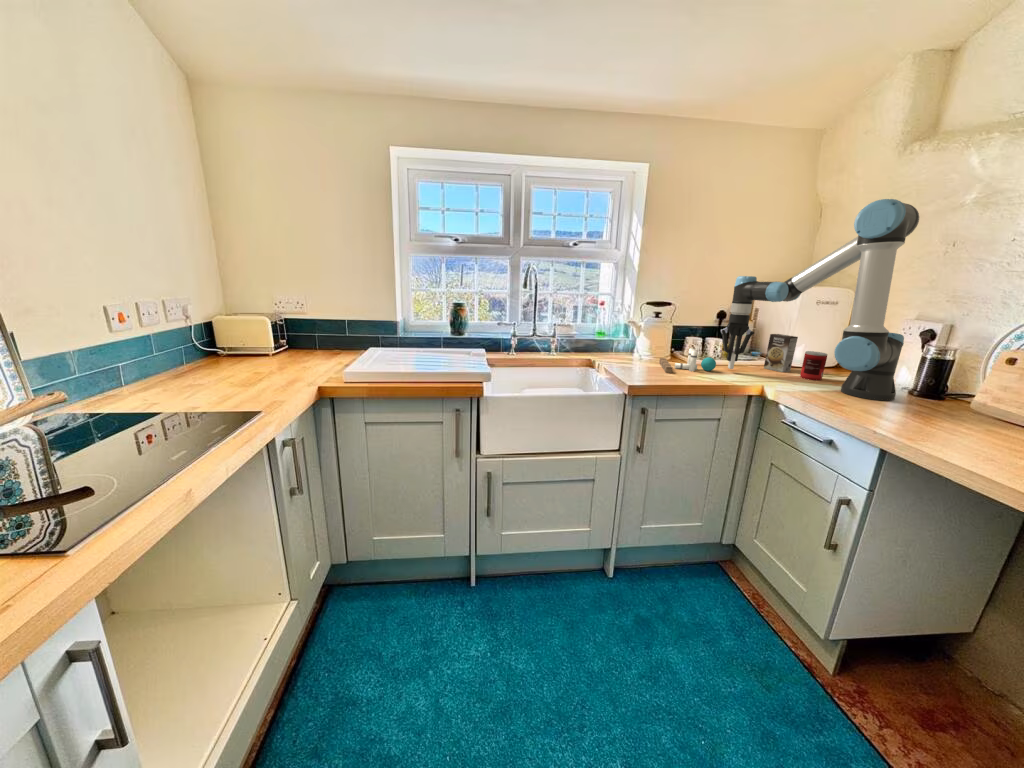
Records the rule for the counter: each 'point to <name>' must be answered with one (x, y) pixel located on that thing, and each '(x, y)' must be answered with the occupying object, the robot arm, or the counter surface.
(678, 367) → the front pin
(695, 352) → the back pin near
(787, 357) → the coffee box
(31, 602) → the counter surface
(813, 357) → the canned food
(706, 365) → the ball
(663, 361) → the rail
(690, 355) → the back pin far
